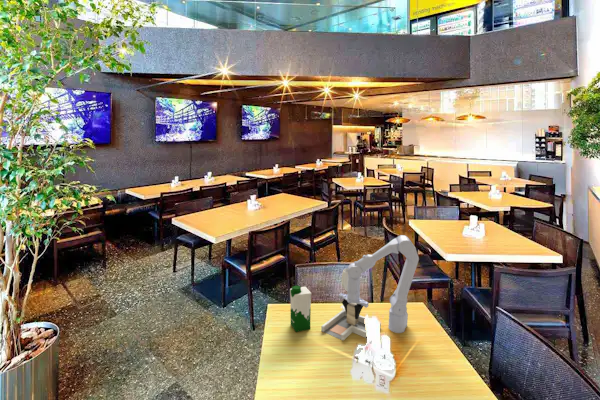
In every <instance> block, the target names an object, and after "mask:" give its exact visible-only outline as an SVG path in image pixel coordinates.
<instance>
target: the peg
mask: <svg viewBox="0 0 600 400" xmlns="http://www.w3.org/2000/svg"><path fill="white" fill-rule="evenodd" d="M355 305H357V304H356V303H349V304H348V305H347V323H348V324H351V325H353V326H354V325H356V324H357V323H358V319H355V308H354V306H355Z"/></svg>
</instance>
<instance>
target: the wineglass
mask: <svg viewBox="0 0 600 400" xmlns="http://www.w3.org/2000/svg"><path fill="white" fill-rule="evenodd" d="M347 285H348V267H347V268H344V269H343V270H342V273H341V287H342V288H343V289H344V290H345V291H346V292H347ZM339 308H340V309H342V310H343V309H344V310H345V308H344V305H343V304H342V305H340V307H339Z"/></svg>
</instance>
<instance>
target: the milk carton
mask: <svg viewBox="0 0 600 400" xmlns="http://www.w3.org/2000/svg"><path fill="white" fill-rule="evenodd" d="M289 295H290V298H289V299H290V325H291V327H292V329H293V330H294V332H295V331H296V332H295V333H299V332H303V331H307V330H311V316H312V315H311V310H312V309H311V307H312V306H311V305H312V304H311V303H312V302H311V299H312V292H311V291H310V290H309V289H308V288H307V286H301V285H293V286H291V288H289Z"/></svg>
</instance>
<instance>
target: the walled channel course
mask: <svg viewBox="0 0 600 400" xmlns="http://www.w3.org/2000/svg"><path fill="white" fill-rule="evenodd" d="M365 317H366V316H363V315H360V314H359V318H358V323H357V324H356V325H354V326H353V325H351V324H348V323H347V315H346V310H344V309H342V310H341V311H339V312H338V313H336V314H335V315H334V316H333V317H331V318H330V319H329V320H327V321H326V322H325V323H324V324H322V325H321V329H320V330H321V332H323V333H325V334H327V335H329V336H332V337H334V338H336V339H338V340H341V341H345V340H346V339H347V338H348V337H349V336H350V335H351V334H352V333H353V334H356V335H358V336H361V337H362V338H364V339H367V338H366V330H365V324H364V319H365ZM381 324H382V323H381V322H380V327H381Z"/></svg>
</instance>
